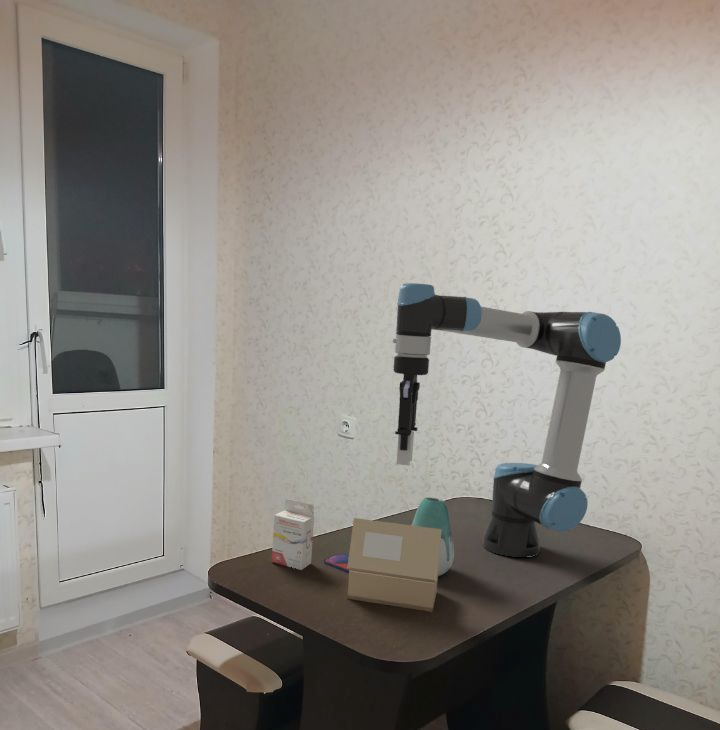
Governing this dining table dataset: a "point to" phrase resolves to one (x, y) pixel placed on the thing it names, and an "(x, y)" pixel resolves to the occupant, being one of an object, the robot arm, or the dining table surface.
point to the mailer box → (392, 591)
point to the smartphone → (338, 562)
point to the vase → (437, 517)
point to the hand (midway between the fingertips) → (404, 462)
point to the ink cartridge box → (293, 535)
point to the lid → (395, 550)
